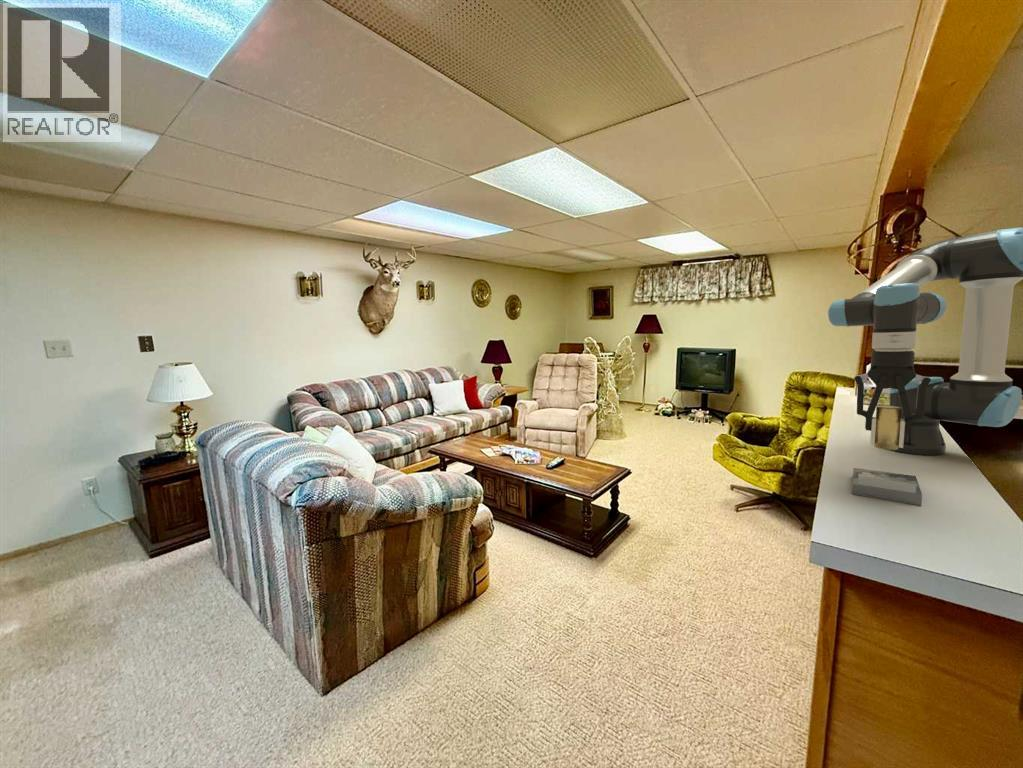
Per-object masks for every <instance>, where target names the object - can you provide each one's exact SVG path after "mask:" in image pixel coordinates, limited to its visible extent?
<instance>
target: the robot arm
mask: <svg viewBox="0 0 1023 768" xmlns="http://www.w3.org/2000/svg"><path fill="white" fill-rule="evenodd" d="M953 279H954V280H955V279H958V285H960V286H962V287H963V288H964V289H965V297H964V298H965V299H964V308H963V309H964V312H963V322H962V329H961V330H962V331H961V340H960V341H961V342H960V351H959V352H960V354H959V361H958V362H959V364H958V372H957V373H955V374H953V375H952V376H950V378H949V382H944V381H945V380H944V378H943V377H941V376H923V375H920V374H917V372H916V371H915V368H914V367H915V366H914V365H915V352H914V351H913V350H912V349H915V348H916V339H917V337H916V335H917V326H918V325H920V324H921V325H927V324H930V323H932V322H935V321H937V320H939V319H940V318H941V317H943V315H944V314H945V313H946V311H947V301H946V300H945V299H944V297H943V296H941V295H939V294H937V293H933V292H927V291H925V292H920V287H921V286H925V285H927V284H929V283H930V282H934V281H940V280H953ZM1021 281H1023V227H1013V228H1011V227H1010V228H1005V229H997V230H990V231H985V232H981V233H975V234H971V235H965V236H959V237H952V238H946V239H943V240H940V241H937V242H935V243H931V244H930V245H926V246H925V247H923V248H921V249H919V250H916V251H915V252H913V253H911V254H909V255H908V256H906V257H904V258H903V259H902V260H901V261H899V262H898V263H897V265H896V266H895V268H894V269H893V270H892V271H889V272H888V273H887V274H885V275H884V276H882V277H881V278H880V279H878V280H877V281H875V282H874V283H872V284H871V285H869V286H868V287H866V288H865V289H864V290H862V291H860V292H859V293H858V294H857V295H854V296H853V297H852V298H843V299H838V300H834V301H833V302H832V303H831V304H830V306H829V307H828V312H827V315H828V321H829V322H830V324H831V325H832V326H835V327H847V328H848V327H863V326H864V327H865V326H873V327H872V328H873V330H872V337H871V339H872V340H871V348H872V349H873V350H872V352H871V353H870V354H871V355H870V368H869V369H868V370H867V373H864V374H856V375H855V376H854V381H855V383H856V385H857V388H856V389H857V392H856V393H857V394H856V395H857V396H856V414H857V415H858V416H862V417H864V418H865V421H864V423H865V424H864V425H865V426H864V430H866V431H870V445H872V446H874V445H875V431H876V416H874V413H875V412H876V411H875V410H876V408H877V406H878V403H879V400H880V397H881V395H882V393H883V391H884V390H886V389H890V390H889V392H888V394H889V400H888V401H889V403H888V404H889V405H888V406H894V407H900V408H901V420H900V433H899V448H898V449H897V450H892V451H893V452H899V453H904V454H911V455H920V456H921V455H922V456H923V455H924V456H939V455H943V454H946V452H947V445H946V442H945V439H944V436H943V434H942V432H941V428H940V422H941V421H944V422H952V423H958V424H967V425H974V426H978V427H991V428H992V427H993V428H1000V427H1001V428H1002V427H1005V426H1007V425H1008V424H1009V423H1011V421H1013V420H1014V418H1015V417H1016V415H1017V413H1018V412H1019V409H1020V407H1021V404H1022V400H1023V394H1022V393H1023V391H1022V389H1021V388H1020V387H1018V386H1016V385H1015V386H1014V385H1013V378H1011V377H1010V376H1008V375H1007V374H1006V373H1005V371H1006V362H1007V353H1008V342H1009V333H1010V326H1011V315H1012V306H1013V296H1014V289H1015V286H1016V284H1018V283H1020V282H1021ZM868 378H869V379H870V380H871V381H872V382H873V383H874V385H875V388H874V391H873V395H872V397H871V399H870V402H869V404H868V408H867V410H864V401H865V400H864V395H865V394H864V393H865V383H867V379H868Z"/></svg>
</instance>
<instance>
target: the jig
mask: <svg viewBox="0 0 1023 768" xmlns="http://www.w3.org/2000/svg"><path fill="white" fill-rule="evenodd" d="M852 470H853V471H852V486H851V487H852V491H851V494H852V495H854V496H859V497H860V496H861V497H862V496H863V497H866V496H867V497H868V498H872V497H873V499H881V500H886V501H892V502H897V503H904V504H907V505H909V504H910V505H916V506H922V502H923V494H922V491H921V488H920V484H919V480H918V479H917V476H916V475H909V474H904V473H895V472H890V471H889V472H888V471H881V470H880V471H879V470H872V469H865V468H859V467H853V468H852ZM867 497H866V498H867Z"/></svg>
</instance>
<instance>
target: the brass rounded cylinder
mask: <svg viewBox="0 0 1023 768" xmlns="http://www.w3.org/2000/svg"><path fill="white" fill-rule="evenodd" d="M875 410H876V411H875V417H876V431H875V445H873V447H874V448H876V449H881V450H889V451H893V450H897V449H898V448H899V433H900V420H901V408H900V407H894V406H889V405H877V406H876V409H875Z"/></svg>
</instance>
